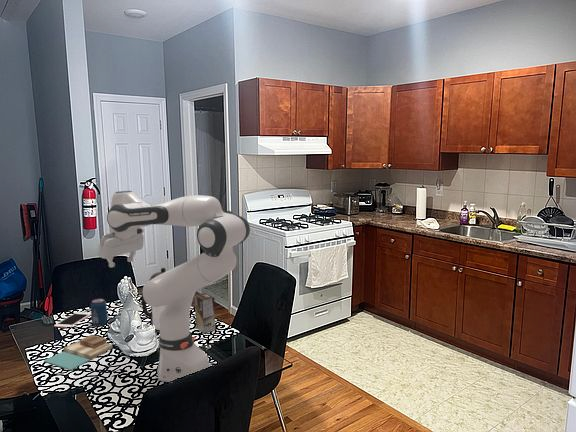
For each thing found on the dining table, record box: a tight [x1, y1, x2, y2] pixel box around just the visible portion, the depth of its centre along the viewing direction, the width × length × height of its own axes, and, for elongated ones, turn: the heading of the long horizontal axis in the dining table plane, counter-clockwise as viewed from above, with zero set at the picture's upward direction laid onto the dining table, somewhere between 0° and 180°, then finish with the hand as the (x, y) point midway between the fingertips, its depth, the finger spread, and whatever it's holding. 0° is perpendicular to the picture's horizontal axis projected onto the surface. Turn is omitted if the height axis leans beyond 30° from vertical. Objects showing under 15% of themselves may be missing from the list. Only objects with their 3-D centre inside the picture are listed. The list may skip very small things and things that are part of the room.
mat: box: [43, 350, 91, 371], centre depth 170 cm, size 16×9×1 cm, turn 64°
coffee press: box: [141, 267, 167, 331], centre depth 199 cm, size 17×16×30 cm
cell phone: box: [53, 311, 91, 328], centre depth 212 cm, size 9×18×1 cm, turn 172°
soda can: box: [90, 298, 108, 327], centre depth 206 cm, size 7×7×12 cm
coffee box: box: [194, 292, 216, 334], centre depth 200 cm, size 9×6×16 cm
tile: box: [79, 334, 107, 349], centre depth 181 cm, size 9×6×2 cm, turn 64°
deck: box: [63, 340, 113, 361], centre depth 179 cm, size 16×11×2 cm
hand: (121, 264), depth 170 cm, fingers open, 8 cm apart
